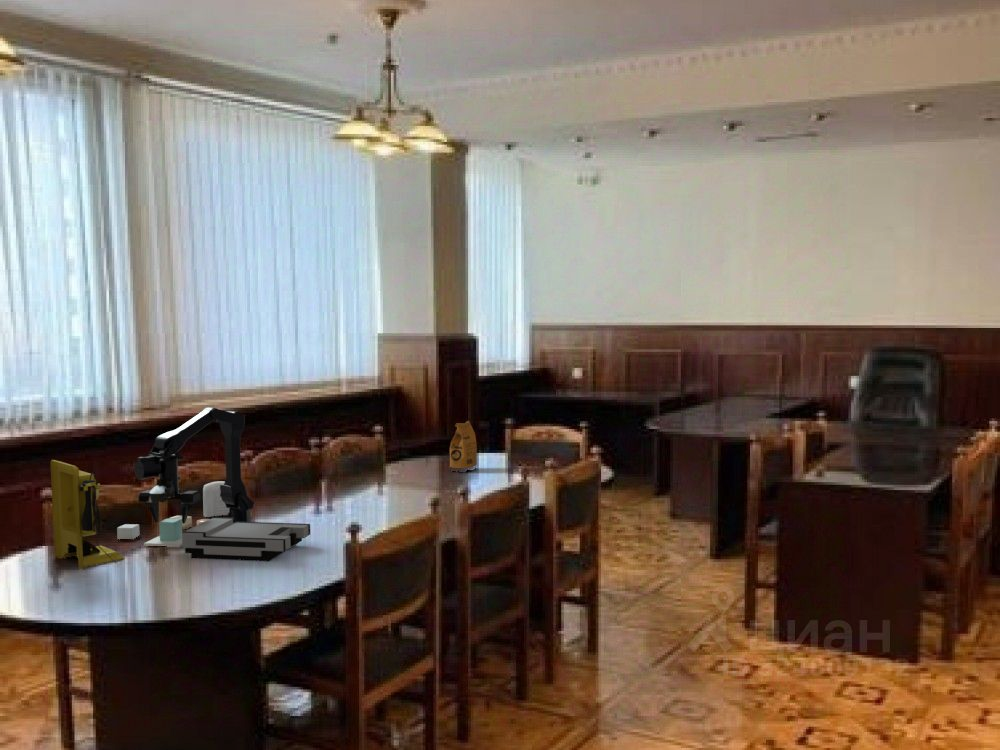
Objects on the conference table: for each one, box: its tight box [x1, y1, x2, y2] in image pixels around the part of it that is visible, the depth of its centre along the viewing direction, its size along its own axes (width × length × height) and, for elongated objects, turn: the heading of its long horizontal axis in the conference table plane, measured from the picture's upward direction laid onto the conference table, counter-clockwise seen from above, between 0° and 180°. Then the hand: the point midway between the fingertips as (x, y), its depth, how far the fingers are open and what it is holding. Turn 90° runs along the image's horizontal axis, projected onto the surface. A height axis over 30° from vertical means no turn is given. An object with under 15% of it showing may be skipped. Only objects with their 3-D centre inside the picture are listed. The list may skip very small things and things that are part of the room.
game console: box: [182, 516, 311, 562], centre depth 288 cm, size 21×32×8 cm, turn 80°
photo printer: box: [202, 480, 230, 518], centre depth 338 cm, size 10×4×12 cm, turn 123°
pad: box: [143, 535, 182, 548], centre depth 301 cm, size 12×12×1 cm
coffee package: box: [449, 420, 478, 468], centre depth 424 cm, size 10×12×22 cm
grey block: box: [116, 523, 141, 541], centre depth 308 cm, size 5×5×4 cm
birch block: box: [168, 515, 193, 530], centre depth 320 cm, size 6×4×4 cm, turn 70°
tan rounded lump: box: [196, 518, 211, 526], centre depth 313 cm, size 5×5×4 cm
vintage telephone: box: [49, 459, 125, 570], centre depth 279 cm, size 31×14×30 cm, turn 45°
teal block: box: [158, 518, 183, 541], centre depth 301 cm, size 5×5×6 cm
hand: (170, 523), depth 301 cm, fingers open, 9 cm apart
